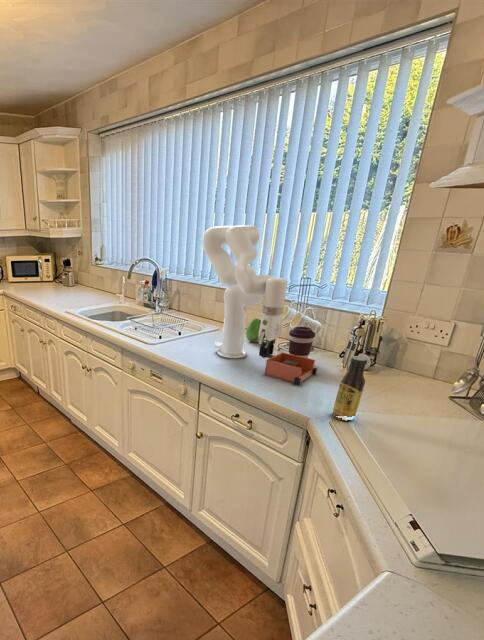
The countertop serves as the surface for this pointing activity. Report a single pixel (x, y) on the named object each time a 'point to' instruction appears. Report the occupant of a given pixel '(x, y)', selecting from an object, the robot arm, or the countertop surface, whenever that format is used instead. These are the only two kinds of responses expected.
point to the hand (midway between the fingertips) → (265, 354)
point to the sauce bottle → (350, 389)
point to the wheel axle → (298, 380)
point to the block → (291, 363)
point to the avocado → (253, 330)
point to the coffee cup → (301, 341)
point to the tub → (288, 366)
